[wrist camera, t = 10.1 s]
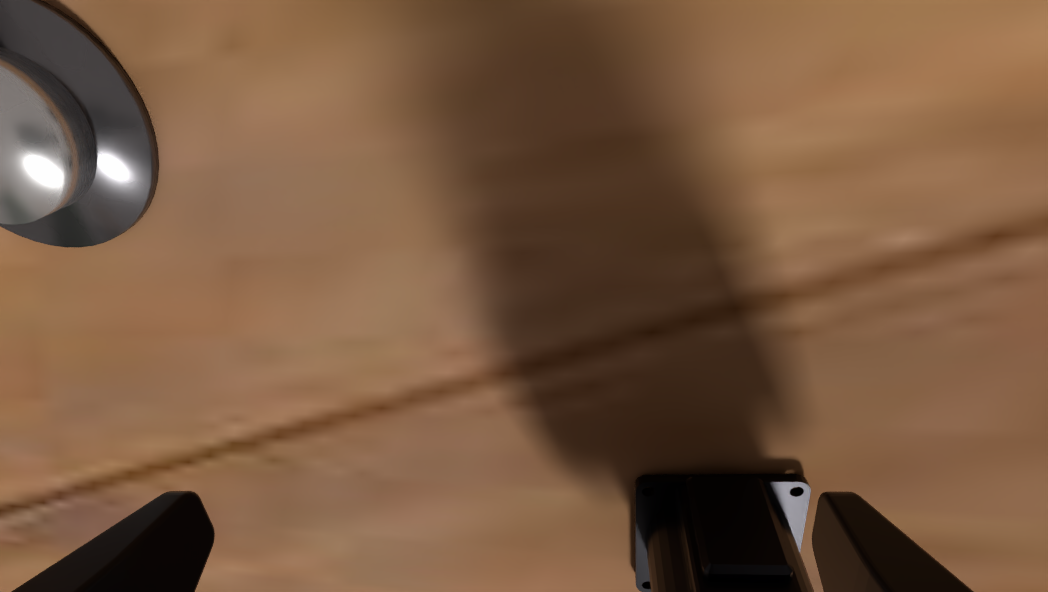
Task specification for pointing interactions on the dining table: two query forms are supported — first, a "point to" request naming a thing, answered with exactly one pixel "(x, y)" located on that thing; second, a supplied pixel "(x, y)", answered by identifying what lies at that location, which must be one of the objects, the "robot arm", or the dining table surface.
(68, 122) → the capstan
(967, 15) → the dining table surface
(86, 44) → the foot base
